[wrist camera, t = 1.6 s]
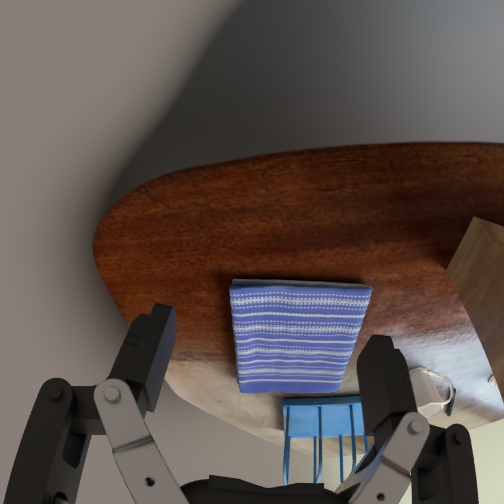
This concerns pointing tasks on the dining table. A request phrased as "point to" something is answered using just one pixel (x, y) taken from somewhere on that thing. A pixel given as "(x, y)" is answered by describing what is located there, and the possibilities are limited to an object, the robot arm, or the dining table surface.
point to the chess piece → (493, 382)
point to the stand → (483, 287)
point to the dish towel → (295, 333)
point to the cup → (428, 391)
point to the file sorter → (322, 425)
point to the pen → (451, 403)
